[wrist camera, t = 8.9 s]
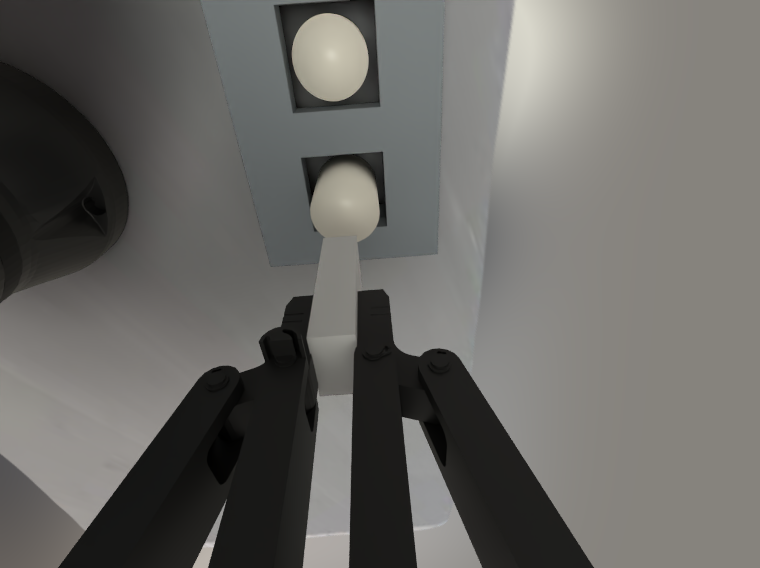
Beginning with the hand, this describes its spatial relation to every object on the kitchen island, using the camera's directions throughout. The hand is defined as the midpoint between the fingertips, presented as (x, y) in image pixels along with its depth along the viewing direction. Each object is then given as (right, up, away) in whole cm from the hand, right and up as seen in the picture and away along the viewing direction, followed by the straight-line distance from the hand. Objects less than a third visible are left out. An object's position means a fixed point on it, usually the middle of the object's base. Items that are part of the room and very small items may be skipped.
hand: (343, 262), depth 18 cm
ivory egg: (-1, +6, +8) cm, 10 cm away
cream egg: (-1, +14, +6) cm, 15 cm away
